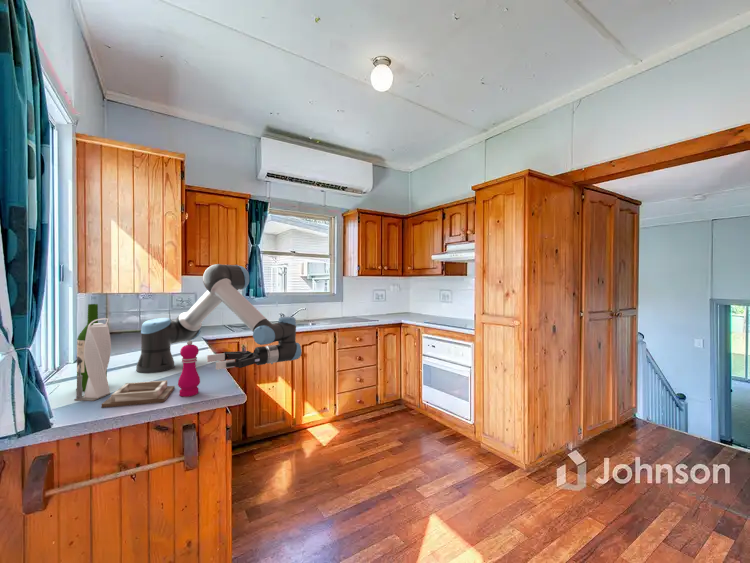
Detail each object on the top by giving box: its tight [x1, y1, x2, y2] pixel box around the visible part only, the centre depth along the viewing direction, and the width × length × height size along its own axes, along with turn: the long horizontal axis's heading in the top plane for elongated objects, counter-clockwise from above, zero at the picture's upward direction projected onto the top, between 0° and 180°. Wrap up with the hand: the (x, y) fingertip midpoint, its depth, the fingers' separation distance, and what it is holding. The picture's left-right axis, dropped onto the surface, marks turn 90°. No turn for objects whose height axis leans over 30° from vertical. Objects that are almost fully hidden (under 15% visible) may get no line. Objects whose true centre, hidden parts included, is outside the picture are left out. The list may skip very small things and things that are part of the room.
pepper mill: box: [177, 340, 201, 398], centre depth 125 cm, size 7×7×20 cm
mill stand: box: [101, 379, 176, 408], centre depth 121 cm, size 15×18×4 cm
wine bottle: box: [76, 303, 108, 392], centre depth 131 cm, size 9×9×32 cm
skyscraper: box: [74, 317, 112, 402], centre depth 121 cm, size 8×8×28 cm
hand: (211, 362), depth 130 cm, fingers open, 13 cm apart
